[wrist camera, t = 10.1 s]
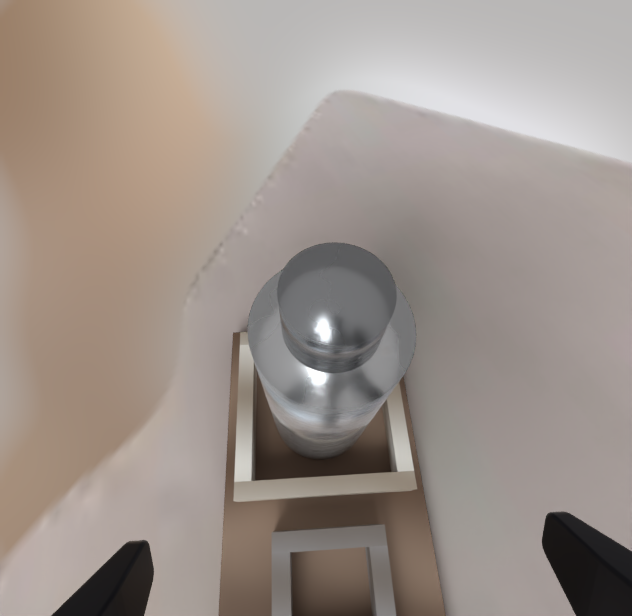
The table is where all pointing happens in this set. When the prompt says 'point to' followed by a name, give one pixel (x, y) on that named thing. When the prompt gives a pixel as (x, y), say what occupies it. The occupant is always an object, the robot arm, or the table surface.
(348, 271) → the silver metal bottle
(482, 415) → the table surface
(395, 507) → the socket board
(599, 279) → the table surface
